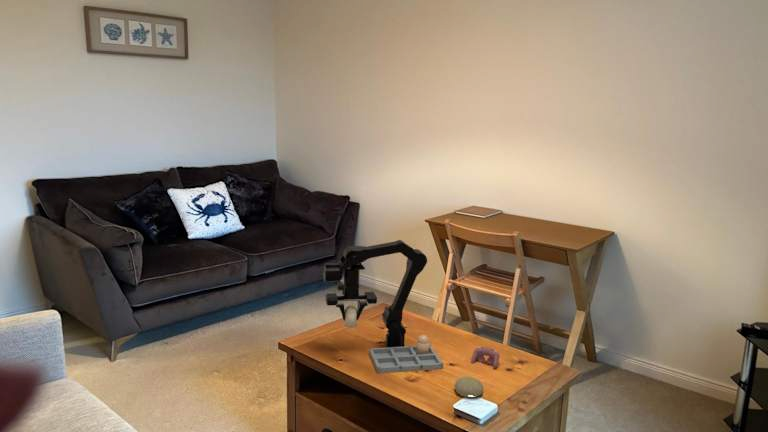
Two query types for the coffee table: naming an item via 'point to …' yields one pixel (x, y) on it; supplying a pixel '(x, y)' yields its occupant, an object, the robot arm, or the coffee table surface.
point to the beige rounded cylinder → (422, 345)
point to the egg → (350, 316)
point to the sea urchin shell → (468, 386)
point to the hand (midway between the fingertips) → (350, 320)
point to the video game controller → (486, 351)
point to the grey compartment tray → (404, 359)
